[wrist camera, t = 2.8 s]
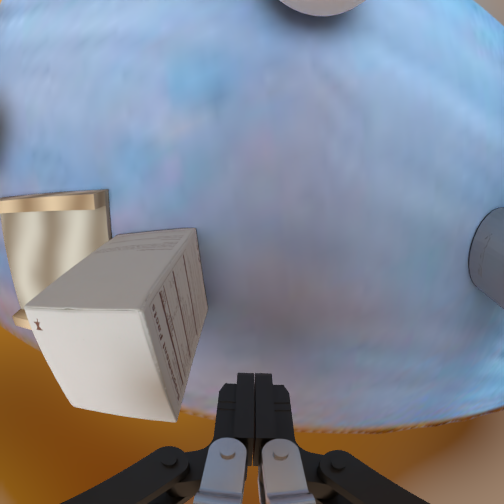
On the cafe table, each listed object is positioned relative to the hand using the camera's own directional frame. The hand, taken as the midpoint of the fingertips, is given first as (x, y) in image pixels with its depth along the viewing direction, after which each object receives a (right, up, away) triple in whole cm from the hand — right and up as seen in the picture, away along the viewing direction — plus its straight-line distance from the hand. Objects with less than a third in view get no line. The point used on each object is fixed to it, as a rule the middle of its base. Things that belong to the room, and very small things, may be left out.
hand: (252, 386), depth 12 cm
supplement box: (-8, +4, +12) cm, 15 cm away
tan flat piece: (-19, +5, +12) cm, 23 cm away
